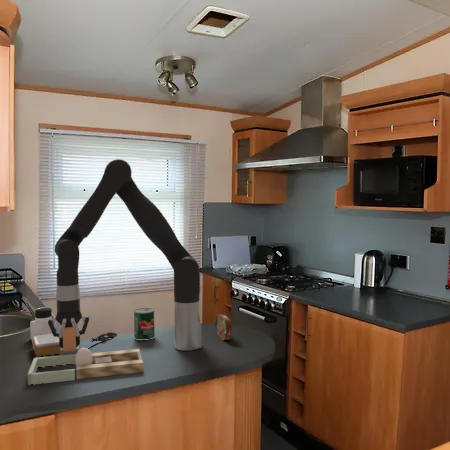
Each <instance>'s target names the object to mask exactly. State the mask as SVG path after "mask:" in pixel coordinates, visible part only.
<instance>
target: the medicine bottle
mask: <svg viewBox="0 0 450 450" xmlns="http://www.w3.org/2000/svg"><path fill="white" fill-rule="evenodd" d="M52 313H53V312H52V308H50V307H48V306H47V307H46V306H45V307H39V308H36V309H35V310H34V319H35V320H30V325H29V327H30V328H29V329H30V339H31V341H32V340H34V337H35V336H41V335H49V334H52V332H51V329H50V327H49V324H48V320H49V319H52V318H53V317H52V316H53V315H52ZM55 328H56V330H57V331H58V322H57V320H56V321H55Z"/></svg>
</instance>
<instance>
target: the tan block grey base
mask: <svg viewBox="0 0 450 450" xmlns="http://www.w3.org/2000/svg"><path fill="white" fill-rule="evenodd" d="M79 349H80V345H78V347H76V334H75V327H65V328H63V349H62V347H61V351H60V354H59V356H61V355H72V354H77V352H78V351H79Z"/></svg>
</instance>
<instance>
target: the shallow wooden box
mask: <svg viewBox="0 0 450 450" xmlns="http://www.w3.org/2000/svg"><path fill="white" fill-rule="evenodd" d="M91 354H92V364H91V365H82V366H76V369H75V373H76V380H80V379H81V380H83V379H89V378H90V379H91V378H100V377H108V376H118V375H129V374H136V373H144V361H143V357H142V354H141V350H140V348H134V349H132V348H131V349H123V350H112V351H103V352H102V351H101V352H91ZM110 356H111V359H112V363H102V364H95V358H102V357H110Z"/></svg>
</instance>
